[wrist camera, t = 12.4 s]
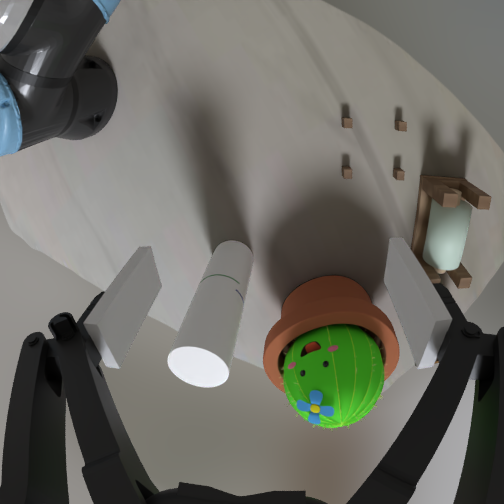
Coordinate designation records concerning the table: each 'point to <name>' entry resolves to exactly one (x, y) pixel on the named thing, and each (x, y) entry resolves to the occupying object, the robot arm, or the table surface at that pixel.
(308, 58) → the table surface
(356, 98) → the table surface
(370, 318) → the potted cactus
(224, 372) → the white tapered bar
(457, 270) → the roll holder
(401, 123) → the wooden cubes
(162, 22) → the table surface
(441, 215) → the paper roll
